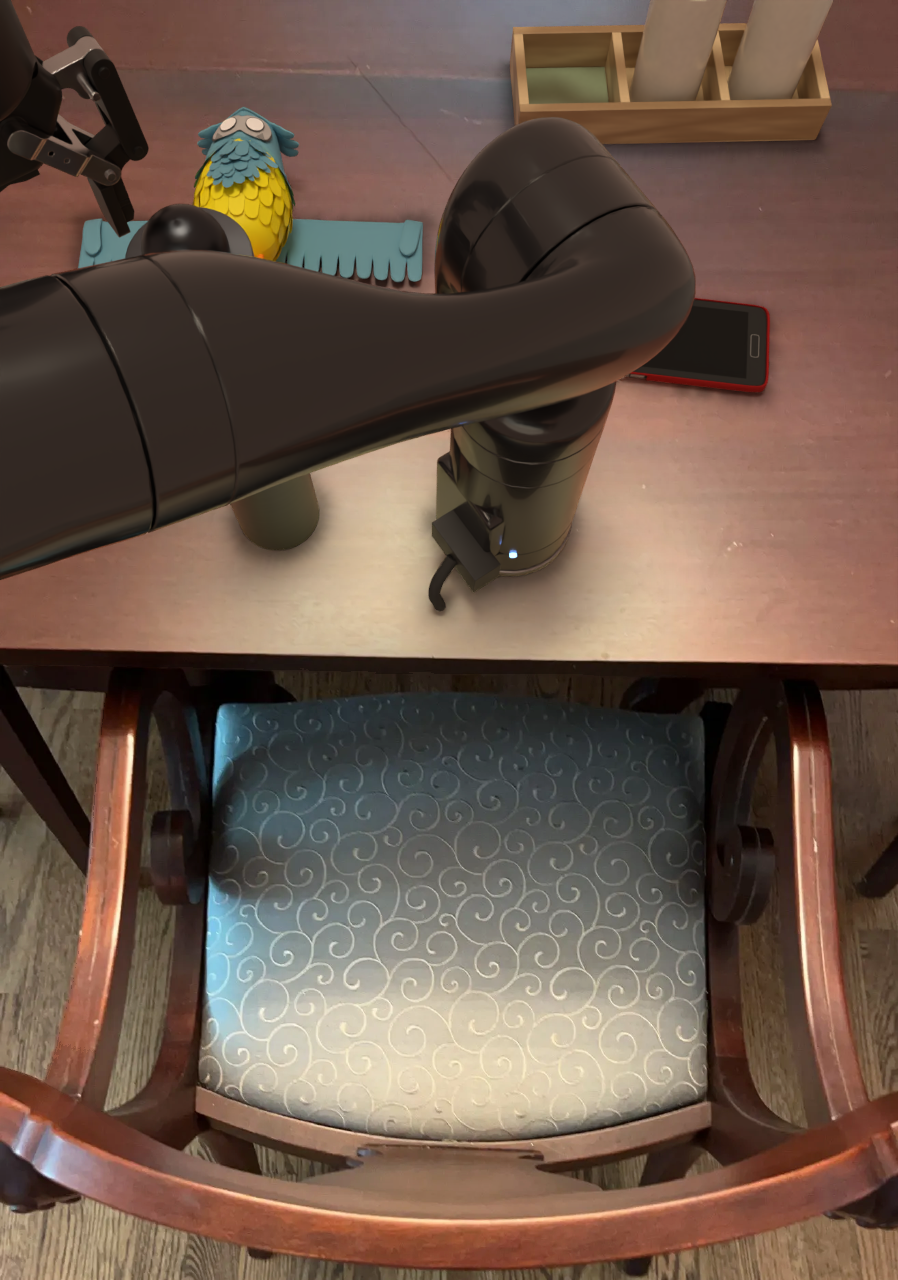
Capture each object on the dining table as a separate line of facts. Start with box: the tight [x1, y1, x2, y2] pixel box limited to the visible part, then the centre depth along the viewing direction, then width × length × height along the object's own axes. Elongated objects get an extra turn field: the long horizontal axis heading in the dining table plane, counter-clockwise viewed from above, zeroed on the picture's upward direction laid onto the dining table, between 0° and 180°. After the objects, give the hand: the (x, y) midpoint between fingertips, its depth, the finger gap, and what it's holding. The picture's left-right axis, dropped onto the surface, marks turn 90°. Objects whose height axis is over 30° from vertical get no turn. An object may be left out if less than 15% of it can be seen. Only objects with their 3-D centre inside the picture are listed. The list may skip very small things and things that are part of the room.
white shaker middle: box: [629, 0, 728, 102], centre depth 77 cm, size 6×6×13 cm
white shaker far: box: [727, 0, 835, 100], centre depth 77 cm, size 6×6×13 cm
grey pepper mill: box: [125, 203, 320, 551], centre depth 57 cm, size 6×6×30 cm
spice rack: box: [509, 22, 833, 145], centre depth 82 cm, size 9×26×4 cm, turn 93°
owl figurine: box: [77, 106, 424, 283], centre depth 75 cm, size 28×9×15 cm
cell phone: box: [624, 297, 771, 393], centre depth 76 cm, size 8×15×1 cm, turn 83°
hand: (48, 259), depth 53 cm, fingers open, 8 cm apart
